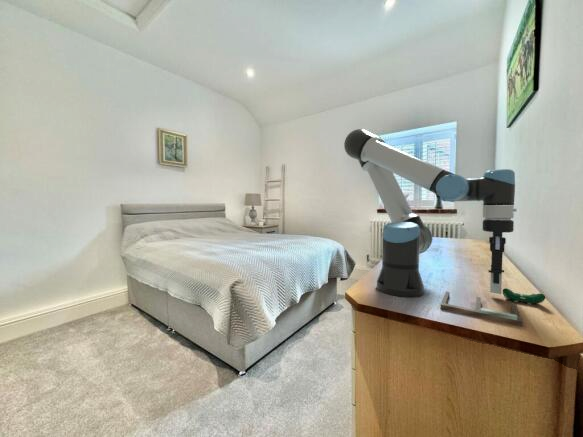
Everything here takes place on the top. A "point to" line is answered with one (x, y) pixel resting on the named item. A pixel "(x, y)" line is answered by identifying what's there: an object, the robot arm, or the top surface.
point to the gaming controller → (524, 297)
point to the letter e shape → (485, 312)
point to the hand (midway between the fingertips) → (495, 292)
